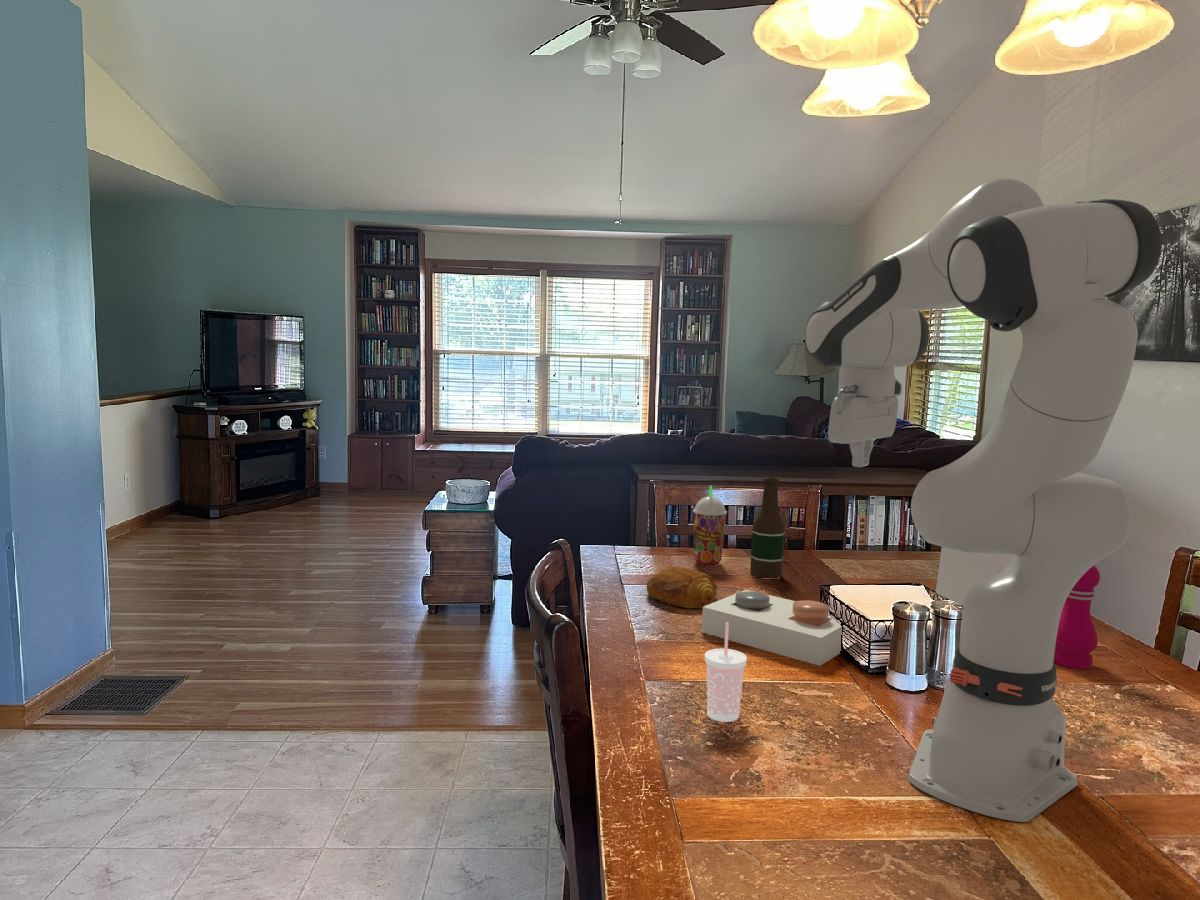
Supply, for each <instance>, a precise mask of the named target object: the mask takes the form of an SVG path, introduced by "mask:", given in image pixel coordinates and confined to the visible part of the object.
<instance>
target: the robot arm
mask: <svg viewBox="0 0 1200 900" xmlns="http://www.w3.org/2000/svg"><path fill="white" fill-rule="evenodd" d="M1162 239H1163V238H1162V232H1161V229H1160V225H1159V223H1158V221H1157V219H1156V217H1155V216H1154V214H1153V213H1152V212H1151V211H1150V210H1149V209H1148V208H1147V207H1145V206H1144V205H1142V204H1140V203H1138V202H1134V201H1130V200H1123V199H1112V198H1103V199H1102V198H1101V199H1094V200H1085V201H1084V200H1083V201H1076V202H1073V203H1065V204H1058V205H1057V204H1047V205H1045V204H1044V203H1043V200H1042V199H1041V197H1040V196H1039V194H1038V193H1037V192H1036V191H1035V190H1034V189H1033V188H1032V187H1031V186H1030V185H1028V184H1027V183H1024V182H1022V181H1020V180H1017V179H1013V178H995V179H992V180H988V181H986V182H983V183H982V184H980V185H978V186H977V187H975V189H973V190H971V191H970V192H969V193H968V194H966V195H964V196H963V197H962V198H961V199H960V200H959V201H958V202H956V204H954V205H953V206H951V208H950V209H949V210H948V211H947V212H946V213H945V214H944V215H943V216H941V218H940V219H939V221H938V222H937V223H936V224H934V226H933V227H932V228H931V229H930V230H929V231H928V232H927V233H925V234H924V235H922V236H921V237H920V238H917V240H916V241H914V242H913V243H911V244H910V245H908V246H906V247H905V248H902V249H900V250H899V251H896V252H895V253H893V254H892V255H888V256H886V257H884V258H883V259H881V260H879V261H877V262H876V263H874V264H873V265H871V266H870V267H869V268H868V269H866V270H865V271H863V273H862V274H861V275H860V276H858V278H856V279H855V280H854V281H852V283H851V284H850V285H848V286H847V287H846V288H845V289H844V290H843V291H842V292H840V294H838V295H837V296H836V297H834V299H832V300H831V301H825V302H824V303H822V304H821V305H820V306H818V307H817V308H816V310H814V312H812V314H811V315H810V317H809V318H808V320H807V324H806V328H805V334H804V335H805V338H804V339H805V342H804V343H805V348H806V350H807V353H808V354H809V355H810V356H811V357H812V359H813V360H815V362H817V363H818V364H819V365H820V366H821V367H823V368H838V367H839V371H838V372H839V374H838V376H839V377H838V392H837V396H836V397H834V399H833V401H832V403H831V407H830V413H829V422H828V429H827V435H828V439H829V442H831V443H837V444H849V449H850V452H851V456H852V458H851V465H852V467H854V468H855V467H856V468H862V467H867V466H869V465H870V457H871V452H872V450H873V448H874V443H875V440H878V439H884V438H890V437H892V436H893V434H894V432H895V429H896V425H897V419H898V417H897V416H898V410H899V399H898V397H900V396H901V395H902V393H903V392H902V390H903V385H902V383H901V382H900V381H899V380H898V379H897V378H896V376H895V368H901V367H908V366H912V365H914V364H915V363H917V362H918V361H919V360H920V359H921V358H922V357H923V356H924V354H925V353H926V352H927V349H928V346H929V340H930V338H929V337H930V325H929V321H928V320H927V318H926V317H925V315H924V314H923V313H922V312H921V311H920V310H942V309H943V310H944V309H947V310H948V309H957V308H961V307H965V308H966V309H967V310H968V312H970V313H971V314H973V315H974V316H976V317H979V318H981V319H983V320H986V321H987V322H988V324H989V325H990V327H991V328H992V329H994V331H995V330H996V331H999V332H1004V333H1005V332H1012V331H1014V330H1017V329H1019V330H1020V333H1021V337H1022V346H1021V350H1020V355H1019V358H1018V361H1017V363H1016V365H1015V368H1014V371H1013V374H1012V376H1011V380H1010V382H1009V385H1008V389H1007V391H1006V394H1005V396H1004V400H1003V401H1002V402H1003V403H1002V404H1001V407H1000V409H999V413H998V414H997V416H996V420H995V421H994V423H993V425H992V427H991V429H990V430H989V431H988V433H987V434H986V435H985V436H984V437H983V438H982V439H981V440H980V441H979V442H978V443H977V444H976V445H975V446H974V447H973V448H971V449H970V450H969V451H967V452H966V453H965V454H964V455H962V456H961V457H959V458H957V459H956V460H954V461H951V462H950V463H949V464H946V465H944V466H942V467H939V468H936V469H933V470H931V471H929V472H927V473H926V474H925V476H923V477H922V478H921V480H919V482H918V483H917V484H916V487H915V488H914V491H913V494H912V497H911V502H910V513H911V514H910V515H911V519H912V522H913V524H914V526H915V529H916V531H917V532H918V534H919V535H920V537H922V539H923V540H924V541H925V542H926V543H928V544H931V545H935V546H937V547H941V548H942V547H945V548H949V549H954V550H958V551H962V552H973V553H990V554H1007V555H1014V556H1013V559H1012V561H1011V562H1010V564H1009V565H1008V566H1007V567H1006V568H1005V569H1004V570H1003V571H1002V572H1001V573H999V574H998V575H996V576H994V577H991V578H989V579H986V580H984V581H981V582H979V583H978V584H976V585H975V586H973V587H972V588H971V590H970V591H969V592H968V593H967V595H966V596H965V598H964V601H963V610H962V621H961V627H960V634H959V635H960V636H959V645H958V647H957V649H956V650H955V654H954V657H953V660H952V668H951V670H950V675H949V680H948V681H947V682H945V683H944V690H943V691H944V693H943V696H942V700H941V703H940V707H939V709H938V713H937V717H936V716H934V717H933V719H932V721H931V722H932V727H933V729H932V728H930V729H925V730H924V732H923V734H922V737H921V740H920V742H919V745H918V748H917V751H916V754H915V756H914V758H913V762H912V764H911V767H910V770H909V774H908V777H907V779H908V782H909V783H910V784H912V785H913V786H914V787H916V788H917V789H919V790H921V791H923V792H924V793H926V794H928V795H930V796H932V797H934V798H937V799H939V800H941V801H944V802H945V803H946V802H947V803H948V804H951V805H954V806H957V807H960V808H961V809H965V810H967V811H970V812H973V813H974V812H975V813H976V814H977V813H978V814H981V815H984V816H988V817H991V818H995V819H1000V820H1004V821H1005V820H1006V821H1011V822H1017V823H1018V822H1019V823H1027V822H1029V821H1031V820H1033V819H1034V818H1036V817H1037V816H1039V814H1040V813H1042V812H1043V811H1045V810H1046V809H1047V808H1049V807H1050V806H1052V805H1053V804H1054V803H1056V802H1057V801H1058V800H1060V799H1061V798H1062V797H1063V796H1065V795H1066V794H1067V793H1069V792H1070V791H1071V790H1074V789H1075V788H1076V787H1077V786H1078V777H1077V775H1076V774H1075V773H1074V772H1072V771H1071V770H1070V769H1068V768H1066V767H1065V766H1064V764H1065V763H1064V760H1065V747H1066V745H1065V744H1066V743H1065V741H1066V720H1067V718H1066V715H1065V714H1064V713H1063V711H1062V710H1061V709H1060V708H1059V706H1058V705H1057V703H1056V701H1055V700H1054V696H1055V693H1056V685H1057V681H1058V676H1057V666H1056V665H1055V664H1056V663H1055V662H1053V661H1054V652H1055V648H1056V647H1055V644H1056V637H1057V631H1058V626H1059V620H1060V615H1061V612H1062V609H1063V606H1064V603H1065V601H1066V599H1067V597H1068V595H1069V593H1070V591H1071V590H1072V588H1073V587H1074V586H1075V584H1076V583H1077V582H1078V580H1079V579H1080V578H1081V577H1082V576H1083V575H1084V574H1085V572H1086V571H1087V570H1089V569H1090V568H1091V567H1092V566H1093V565H1094V566H1095V565H1096V564H1097V563H1099V562H1100V561H1101V560H1103V559H1105V558H1107V557H1108V556H1111V555H1113V554H1114V553H1116V552H1117V551H1118V550H1119V549H1121V547H1122V546H1123V545H1124V544H1125V543H1126V541H1127V539H1128V538H1129V536H1130V534H1131V531H1132V528H1133V522H1134V513H1133V507H1132V504H1131V501H1130V499H1129V497H1128V495H1127V493H1126V492H1125V490H1124V489H1123V487H1121V486H1120V484H1118V483H1117V482H1116V481H1115V480H1111V479H1108V478H1105V477H1101V476H1096V475H1092V474H1086V473H1083V472H1081V471H1082V470H1083V469H1085V468H1086V467H1087V466H1089V465H1090V464H1091V463H1092V462H1093V461H1094V460H1095V458H1096V457H1097V455H1098V454H1099V452H1100V449H1101V447H1102V445H1103V443H1104V441H1105V438H1106V437H1107V436H1106V435H1107V434H1108V431H1109V429H1110V426H1111V425H1112V422H1113V420H1114V418H1115V415H1116V414H1117V413H1116V412H1117V411H1118V409H1119V406H1120V404H1121V401H1122V399H1123V396H1124V394H1125V392H1126V388H1127V386H1128V382H1129V380H1130V377H1131V373H1132V369H1133V365H1134V360H1135V355H1136V350H1137V342H1138V338H1139V336H1138V335H1139V332H1138V331H1139V330H1138V324H1137V323H1136V320H1135V318H1134V317H1133V316H1132V314H1131V313H1130V311H1128V310H1127V309H1126V308H1124V307H1123V306H1122V305H1121V304H1119V303H1116V301H1112V300H1110V299H1108V298H1111V297H1115V296H1118V295H1120V294H1123V293H1125V292H1128V291H1130V290H1132V289H1134V288H1136V287H1138V286H1139V285H1141V284H1143V283H1145V282H1146V281H1147V280H1148V279H1149V278H1150V277H1151V275H1153V273H1154V272H1155V270H1156V268H1157V266H1158V265H1159V262H1160V258H1161V254H1162V249H1163V248H1162V247H1163V243H1162V242H1163V240H1162ZM1000 325H1001V326H1000Z"/></svg>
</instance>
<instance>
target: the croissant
mask: <svg viewBox="0 0 1200 900" xmlns="http://www.w3.org/2000/svg"><path fill="white" fill-rule="evenodd" d="M717 589H718V585H717V583H716V582H715V580H714V579H713V578H712V577H711V576H710V575H708V574H706V573H704V572H702V571H698V570H696V569H691V568H688V567H681V566H670V567H667V568H663V569H661V570H660V571H659V572H657V573H656V574H654V575H652V577H651V578H649V580H648V581H647V583H646V591H647V594H648V596H649V597H650V596H651V598H652V597H653V598H652V599H654V598H655V600H656V599H657V601H659V600H660V601H659V602H662V603H664V604H667V603H668V604H667V605H671V604H672V605H673V606H676V607H680V608H681V607H682V608H685V609H693V608H694V609H701V608H702V609H703V607H704V606H706V605H709V604H711V603H714V602H716V597H717Z"/></svg>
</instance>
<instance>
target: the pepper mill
mask: <svg viewBox="0 0 1200 900" xmlns="http://www.w3.org/2000/svg"><path fill="white" fill-rule="evenodd" d="M1100 580H1101V574H1100V571H1099V569H1098V567H1097V566H1095V565H1093V566H1092V567H1091V568H1090V569H1089V570H1087V571H1086V572H1085V574H1084V575H1083V576H1082V577H1081V578H1080V579H1079V580H1078V582H1077V583H1076V584H1075V586H1074V587H1073V588H1072V590H1071V591H1070V593H1069V595H1068V597H1067V599H1066V601H1065V603H1064V606H1063V608H1062V611H1061V615H1060V620H1059V626H1058V631H1057V637H1056V644H1055V652H1054V661H1053V663H1054V664H1057V665H1059V666H1062V667H1064V668H1065V667H1066V668H1070V669H1074V670H1075V669H1076V670H1088V669H1091V668H1092V667H1093V658H1094V657H1093V656H1092V654H1091V653H1092V652H1093V651H1095V649H1097V647H1098V635H1097V631H1096V628H1095V626H1094V623H1093V621H1092V616H1091V604H1092V600H1094V599H1095V598H1096V597H1095V593H1096V591H1095V590H1094V588H1095V587H1097V586H1098V585H1099V583H1100Z"/></svg>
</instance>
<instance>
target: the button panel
mask: <svg viewBox="0 0 1200 900" xmlns="http://www.w3.org/2000/svg"><path fill="white" fill-rule="evenodd" d="M740 592H755V591H753V590H749V589H744V590H742V591H740ZM737 593H738V592H737ZM737 593H734V594H732V595H729V596H727V597H724V598H722V599H718V600H715V601H714V603H711V604H709V605H706V606H704V607H703V608H702V618H701V619H702V621H701V622H702V623H701V633H702V634H705V633H706V634H705V635H708V636H712V635H714V636H713V637H716V636H717V637H716V638H719V637H720V638H719V639H723V638H724V639H723V640H725V625H726V622H729V631H728V641H730V640H731V642H733V643H738V644H741V645H744V646H748V647H750V648H751V647H752V648H755V649H759V650H762V651H766V652H769V653H773V654H777V655H779V656H783V657H787V658H791V659H794V660H797V661H801V662H805V663H807V664H808V663H809V664H811V665H815V666H819V667H821V666H822V665H824V664H826V663H827V662H829V661H831V660H832V659H833V658H835V657H837V656H838V655H841V653H840V651H841V635H842V626H841V625H840V624H839V623H837V622H836V621H835V620H834V619H833V618H831V616H828V617H827V618H825V619H824V624H822V625H820V626H819V627H817V626H814V625H810V624H806V623H802V622H798V621H796V615H794V614H793V612H792V611H793V603H794V602H796V600H793V599H792V600H791V599H787V598H783V597H779V596H775V595H770V594H767V595H768V596H769V597H770V599H769V607H767V608H765V609H763V610H761V611H754V610H750V609H746V608H742V607H739V606H738V605H736V604H735V597H736V594H737Z"/></svg>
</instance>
